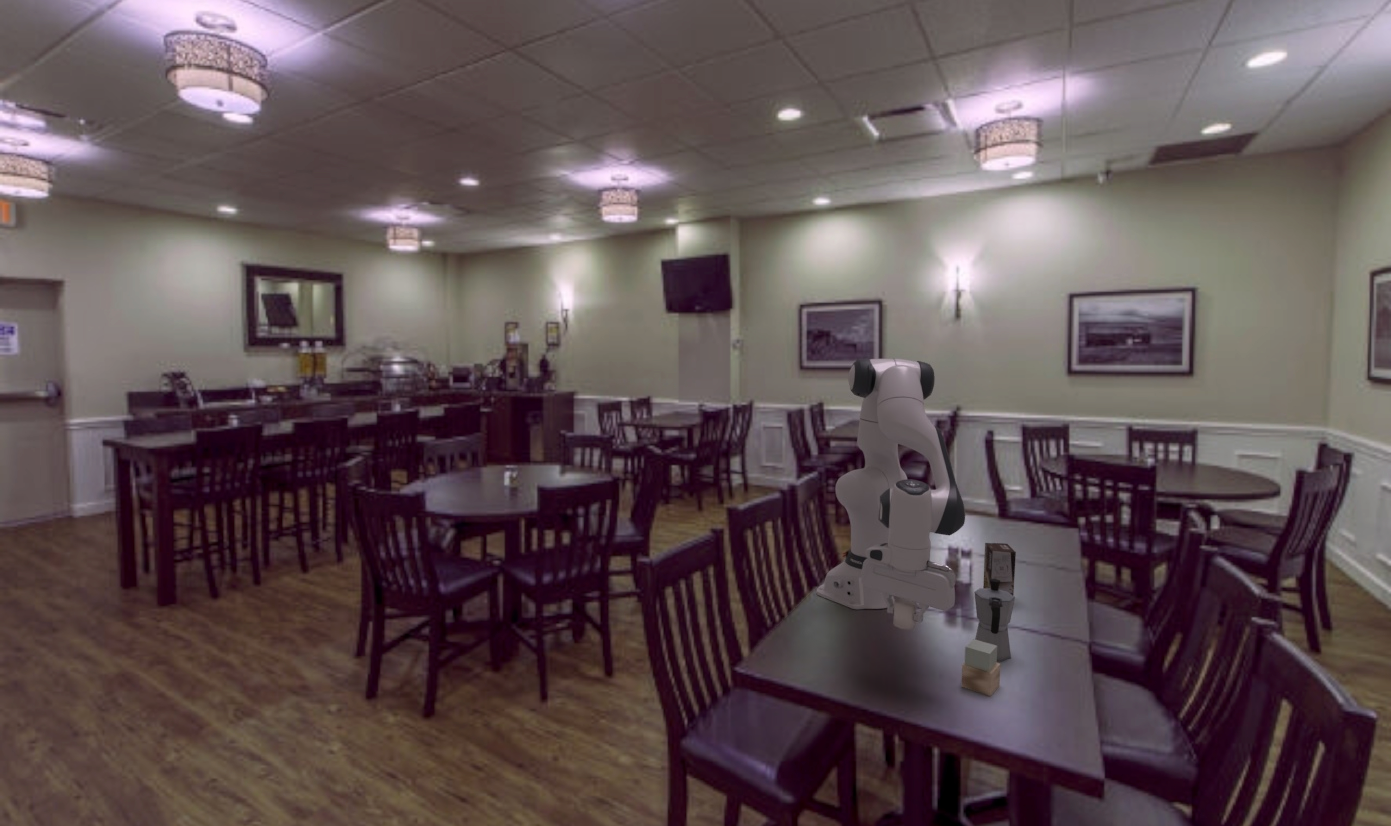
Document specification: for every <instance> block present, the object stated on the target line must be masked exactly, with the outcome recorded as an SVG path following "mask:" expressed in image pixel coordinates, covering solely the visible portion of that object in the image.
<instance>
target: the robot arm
mask: <svg viewBox="0 0 1391 826" xmlns="http://www.w3.org/2000/svg"><path fill="white" fill-rule="evenodd" d="M847 379H848V385H849V389H850V391H851V392H852V394H853V395H854V396H857V397H859V398H863V400H862V403H861V408H860V412H859V414H860V415H859V420H858V422H859V424H858V431H857V438H856V439H857V441H856V444H857V446H858V448H859V450H860V451H862V453H863V456H864V467H863V468H858V469H853V470H850V471H849V472H846V473H845V474H843V475H841V476H840V477H839V478H838V479H837V481H836V483H835V486H834V487H835V489H834V490H835V496H836V499H837V500H838V502H839V503H840V504H841V505H842V506H843V507H844V508H845V510H846V512H847V515H848V519H849V523H850V549H847V550H846V551H845V552H843V553H842V558H844V557H845V560H844V561H843V562H841V563H840V564H837V565H836V566H835V567H833V568H831V569H830V570H829V571H828V572H827V574H826V576H825V579H824V583H823V584H821V585H819V586H818V587H817V588H816V595H817V596H819V597H822V598H825V599H827V600H830V601H832V602H835V603H837V604H840V605H842V606H845V607H847V608H849V609H852V610H864V609H867V610H868V609H869V610H870V609H871V610H875V609H876V610H879V609H887V610H886V611H887V613H888V614H891V615H894V601H895V600H896V599H895V597H896V598H898V599H906V600H909V601H913V602H915V603H916V604H918V608H919V609H920V610H919V611H916V613H914V614H913V617H914V618H913V621H915V623H919V624H921V623H922V622H923V620H924V614H925V613H926V612H927V610H928V609H929V607H930V608H933V609H936V610H941V611H943V612H947V611H949V610H950V609H952V608H953V607H954V606H955V603H956V591H955V585H956V582H957V579H956V578H957V576H956V575H957V574H956V573H955V571H954V570H953V569H952V568H951V567H950V566H948V565H945V564H939V563H937V562H934V561H931V559H930V558H931V549H932V548H931V547H932V546H931V545H932V543H931V537H930V534H932V533H934V534H937V535H943V536H948V537H949V536H952V535H954V534H956V533H957V532H958V531H959V530H960V529H961V528H963V526H964V525H965V522H966V508H965V505H964V501H963V497H962V495H961V493H960V490H959V487H958V485H957V481H956V477H955V475H954V470H953V466H952V463H951V460H950V455H949V452H948V449H947V446H946V442H945V439H944V436H943V433H942V431H941V429H940V428H939V427H938V426H936V425H934V424H933V423H932V422H931V421H930V419H929V417H928V415H927V413H926V411H925V400H927V398H929V397H930V396H931V395H932V393H933V390H934V388H935V385H936V384H935V383H936V377H935V370H934V368H933V367H932V365H931V364H930V363H927V362H925V361H921V360H917V361H915V360H910V359H909V360H908V359H903V358H894V357H893V358H871V359H870V358H868V357H866V358H859V359H856V360H855V361H854V362H853V363H852V365H851V367H850V369H849V372H848V378H847ZM898 445H900V446H903V447H905V448H908V449H911V450H914V451H916V453H918V454H921V455H922V456H923V457H924V458H925V459H927V461H928V463H929V465H930V469H931V474H932V478H933V482H934V486H935V489H932V488H931V487H930V486H929V484H927V483H925V482H923V481H920V480H917V479H911V478H910V479H908V476H907V474H906V472H905V471H904V470H903V469H902V467H901V464H900V458H899V446H898Z"/></svg>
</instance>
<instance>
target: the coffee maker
mask: <svg viewBox="0 0 1391 826" xmlns="http://www.w3.org/2000/svg"><path fill="white" fill-rule="evenodd" d="M999 585H1000V580H998V579H990V586H991V588H982V587H981V588H980V587H979V588H978V589H977V590H975V591H973V592H974V598H975V599H974V600H975V609H976V611H975V612H976V618H977V619H978V624H977V629H976V634H975V638H974V639H975V640H979V641H982V642H986V643H989V644H993V645H996V646H997V662H1003V661H1007V660H1011V659H1012V655H1011V648H1010V647H1011V646H1010V638H1009V630H1008V629H1009V628H1008V627H1009V626H1008V624H1010V623H1011V621H1012V614H1013V609H1014V604H1015V599H1016V597H1015V596H1014V595H1011V594H1010V593H1009V592H1007V591H1003V590H999Z"/></svg>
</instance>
